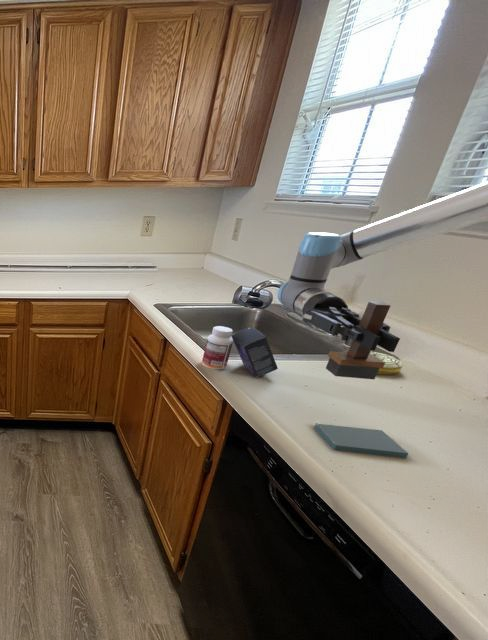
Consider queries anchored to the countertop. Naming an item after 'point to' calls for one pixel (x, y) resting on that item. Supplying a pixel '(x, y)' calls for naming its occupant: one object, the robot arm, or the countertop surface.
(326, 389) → the countertop surface
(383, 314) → the brush
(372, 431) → the tile
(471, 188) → the robot arm
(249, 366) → the box
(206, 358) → the pill bottle
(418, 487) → the countertop surface
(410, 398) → the countertop surface
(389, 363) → the decorated donut
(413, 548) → the countertop surface
